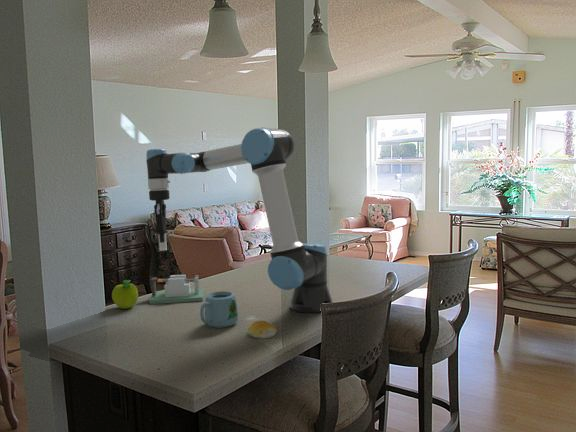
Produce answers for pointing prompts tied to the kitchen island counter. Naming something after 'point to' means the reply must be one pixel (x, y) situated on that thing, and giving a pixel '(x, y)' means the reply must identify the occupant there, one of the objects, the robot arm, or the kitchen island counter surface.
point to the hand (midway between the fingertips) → (163, 250)
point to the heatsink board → (177, 299)
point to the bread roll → (262, 330)
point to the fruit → (125, 295)
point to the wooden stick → (167, 280)
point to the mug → (220, 310)
